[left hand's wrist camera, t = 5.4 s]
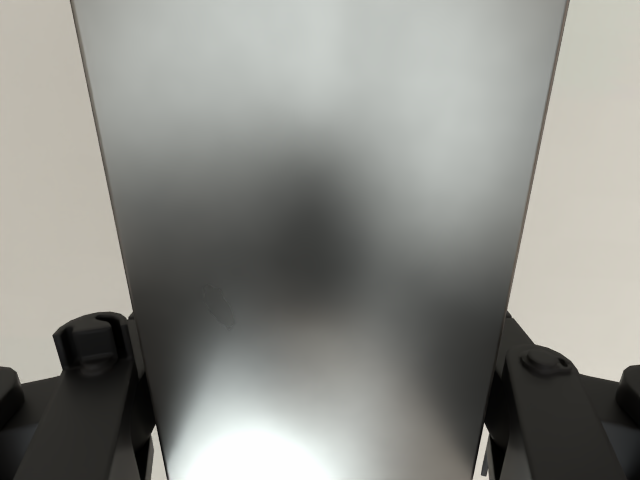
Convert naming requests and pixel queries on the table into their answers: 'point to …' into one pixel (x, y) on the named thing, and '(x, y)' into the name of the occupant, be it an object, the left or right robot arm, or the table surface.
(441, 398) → the bar
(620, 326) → the table surface
